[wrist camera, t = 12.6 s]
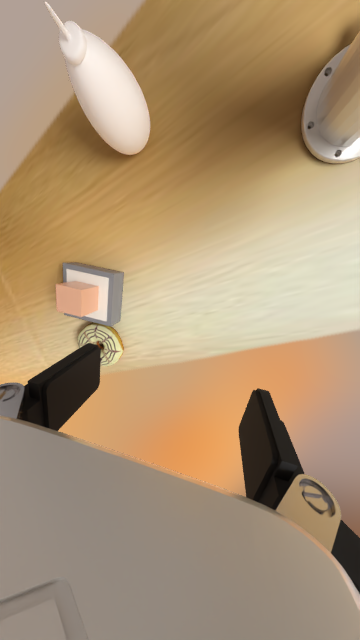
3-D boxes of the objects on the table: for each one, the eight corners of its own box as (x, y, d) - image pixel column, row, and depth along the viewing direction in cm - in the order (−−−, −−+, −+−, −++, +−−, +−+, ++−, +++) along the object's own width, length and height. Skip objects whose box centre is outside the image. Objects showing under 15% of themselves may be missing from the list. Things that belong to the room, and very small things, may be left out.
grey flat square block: (77, 262, 41) (61, 262, 37) (123, 272, 39) (113, 273, 35) (77, 310, 44) (63, 315, 40) (120, 320, 43) (110, 327, 39)
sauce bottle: (168, 141, 31) (108, -3, 14) (135, 177, 33) (50, 93, 17) (139, 95, 30) (36, -118, 13) (107, 137, 32) (-14, 3, 16)
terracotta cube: (76, 280, 37) (55, 283, 32) (98, 286, 37) (81, 289, 32) (76, 304, 39) (56, 310, 34) (98, 310, 38) (81, 317, 34)
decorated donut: (107, 368, 48) (98, 376, 45) (78, 336, 47) (66, 342, 43) (134, 347, 44) (126, 354, 41) (103, 312, 43) (93, 317, 40)
